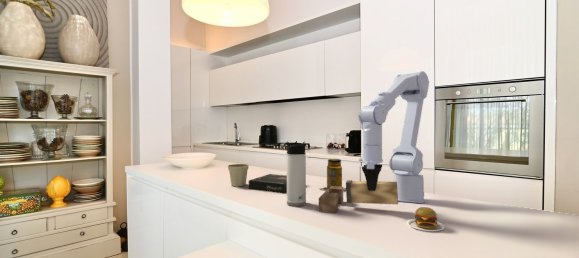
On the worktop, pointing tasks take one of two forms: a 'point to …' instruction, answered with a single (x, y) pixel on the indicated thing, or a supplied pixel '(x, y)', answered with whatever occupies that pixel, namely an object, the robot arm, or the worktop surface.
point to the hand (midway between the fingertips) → (372, 189)
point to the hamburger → (426, 219)
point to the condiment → (334, 174)
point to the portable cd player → (269, 183)
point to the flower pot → (238, 174)
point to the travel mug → (296, 175)
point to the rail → (371, 193)
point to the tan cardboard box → (331, 199)
